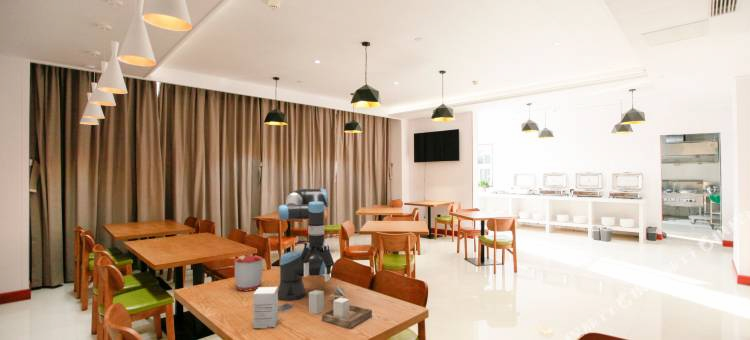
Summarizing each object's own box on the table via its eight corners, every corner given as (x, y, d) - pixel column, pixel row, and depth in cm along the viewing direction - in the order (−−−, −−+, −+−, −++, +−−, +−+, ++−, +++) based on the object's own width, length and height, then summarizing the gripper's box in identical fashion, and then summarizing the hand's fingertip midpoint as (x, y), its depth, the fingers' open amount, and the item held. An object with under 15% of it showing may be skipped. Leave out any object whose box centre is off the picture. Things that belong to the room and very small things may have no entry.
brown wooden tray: (321, 320, 155) (321, 314, 155) (344, 309, 169) (344, 303, 169) (350, 329, 146) (350, 322, 146) (371, 316, 160) (371, 309, 160)
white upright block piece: (308, 311, 166) (308, 292, 166) (316, 308, 170) (316, 289, 170) (316, 313, 163) (316, 294, 163) (323, 310, 167) (323, 291, 168)
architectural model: (342, 304, 176) (342, 289, 177) (329, 302, 179) (329, 288, 179) (345, 302, 180) (344, 287, 180) (332, 300, 182) (332, 286, 182)
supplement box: (258, 320, 156) (257, 286, 157) (278, 319, 157) (278, 286, 157) (252, 329, 147) (252, 293, 148) (274, 328, 148) (274, 292, 148)
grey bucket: (254, 281, 214) (254, 249, 215) (267, 288, 202) (267, 253, 202) (228, 287, 204) (228, 253, 204) (240, 294, 191) (240, 258, 191)
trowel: (267, 319, 158) (267, 314, 158) (258, 316, 161) (258, 311, 161) (294, 307, 171) (294, 303, 171) (285, 305, 174) (285, 301, 174)
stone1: (333, 321, 153) (333, 300, 154) (340, 317, 158) (340, 297, 158) (342, 323, 151) (342, 302, 151) (349, 319, 155) (349, 299, 155)
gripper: (292, 232, 171) (292, 276, 171) (331, 237, 157) (331, 285, 157) (303, 230, 177) (303, 272, 177) (341, 235, 164) (341, 280, 163)
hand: (316, 278), depth 167 cm, fingers open, 13 cm apart
